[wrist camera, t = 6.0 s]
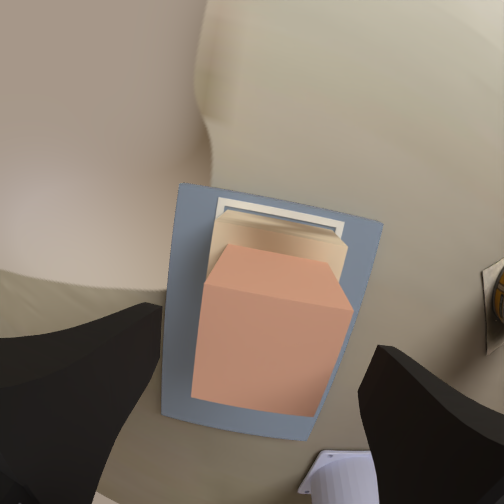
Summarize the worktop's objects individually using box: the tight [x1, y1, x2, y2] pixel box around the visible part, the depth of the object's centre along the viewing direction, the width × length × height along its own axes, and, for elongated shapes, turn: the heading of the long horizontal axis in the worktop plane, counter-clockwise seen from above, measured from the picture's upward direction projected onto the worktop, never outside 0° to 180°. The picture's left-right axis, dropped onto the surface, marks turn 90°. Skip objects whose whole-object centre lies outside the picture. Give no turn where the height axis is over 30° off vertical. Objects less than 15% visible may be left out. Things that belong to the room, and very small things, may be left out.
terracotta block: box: [191, 244, 354, 417], centre depth 12 cm, size 4×4×5 cm
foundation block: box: [206, 210, 348, 282], centre depth 16 cm, size 6×6×4 cm
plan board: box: [161, 183, 383, 441], centre depth 20 cm, size 12×18×1 cm, turn 170°
